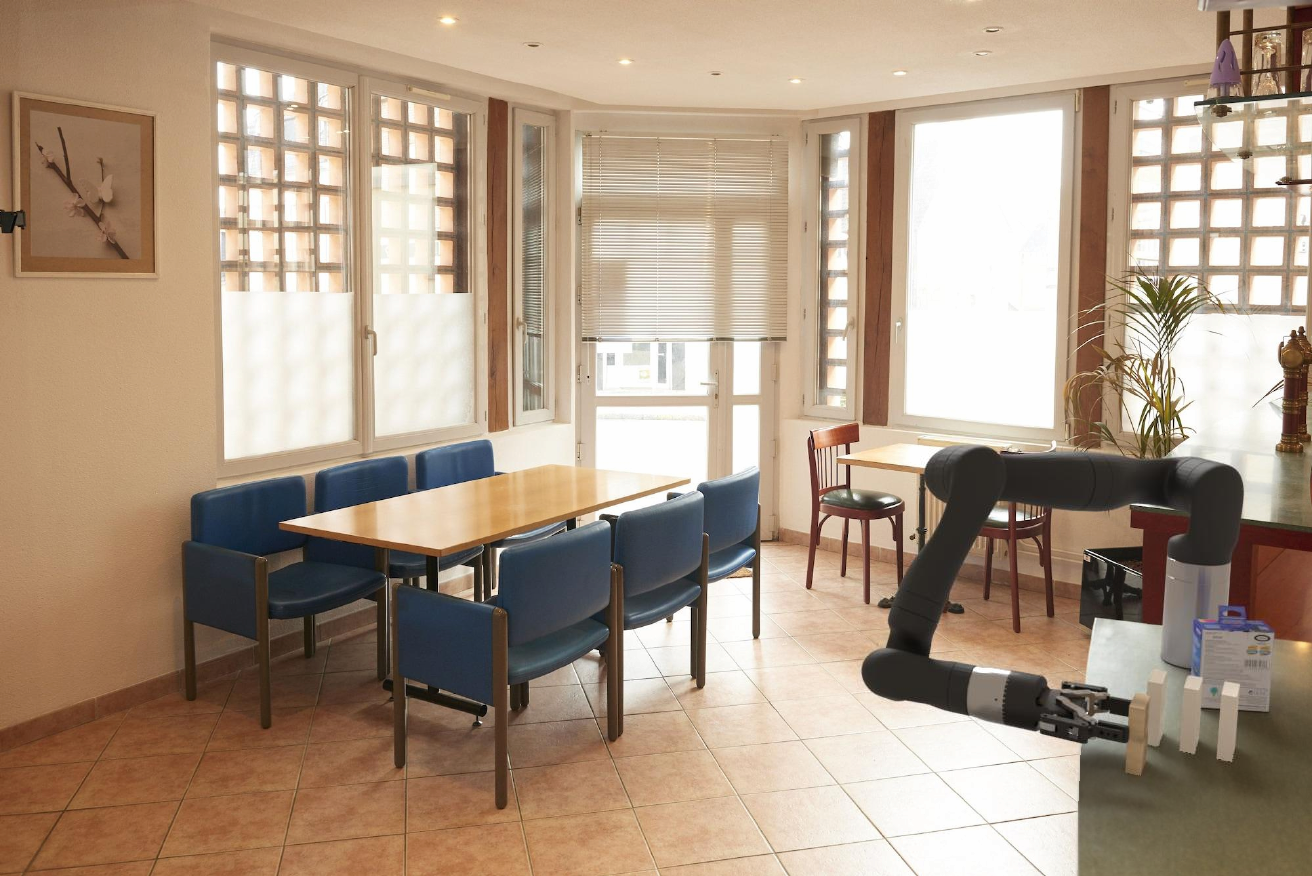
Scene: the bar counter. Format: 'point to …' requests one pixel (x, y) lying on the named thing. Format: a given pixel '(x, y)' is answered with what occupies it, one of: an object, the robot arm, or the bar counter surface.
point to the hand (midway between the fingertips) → (1134, 722)
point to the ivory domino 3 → (1228, 721)
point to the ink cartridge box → (1233, 658)
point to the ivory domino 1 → (1156, 705)
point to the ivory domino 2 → (1191, 714)
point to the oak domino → (1137, 734)
